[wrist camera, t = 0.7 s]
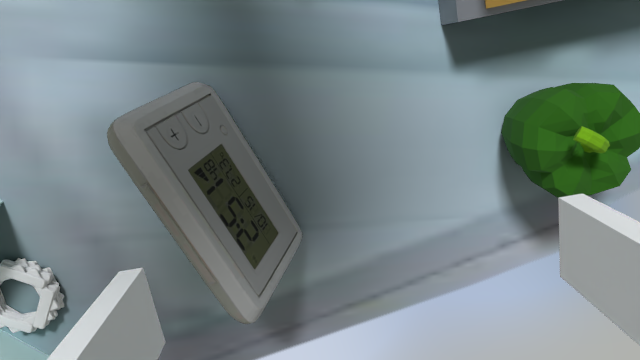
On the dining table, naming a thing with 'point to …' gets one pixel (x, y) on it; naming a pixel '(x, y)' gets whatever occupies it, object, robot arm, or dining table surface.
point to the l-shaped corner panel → (10, 352)
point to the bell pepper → (573, 137)
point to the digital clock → (209, 194)
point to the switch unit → (481, 8)
